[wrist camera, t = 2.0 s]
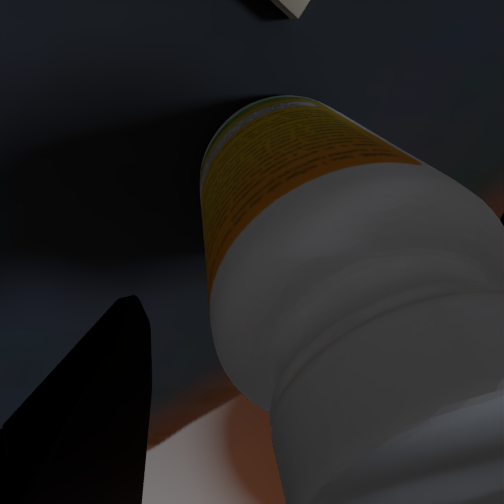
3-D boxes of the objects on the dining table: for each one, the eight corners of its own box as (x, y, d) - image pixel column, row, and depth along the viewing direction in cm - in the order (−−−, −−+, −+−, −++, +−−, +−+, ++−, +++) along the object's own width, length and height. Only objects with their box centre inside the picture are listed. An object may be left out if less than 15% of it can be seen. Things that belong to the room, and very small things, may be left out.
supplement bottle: (173, 213, 12) (143, 597, 4) (246, 55, 10) (516, 199, 2) (301, 263, 14) (453, 585, 6) (386, 141, 12) (814, 393, 4)
